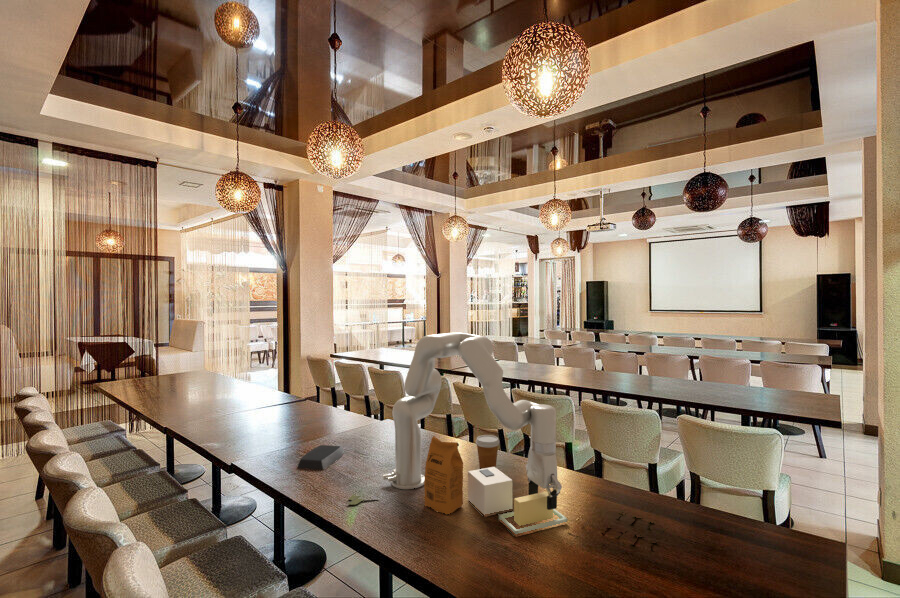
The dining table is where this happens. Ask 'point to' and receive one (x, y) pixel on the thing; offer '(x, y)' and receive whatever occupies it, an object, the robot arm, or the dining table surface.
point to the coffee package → (443, 477)
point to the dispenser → (489, 490)
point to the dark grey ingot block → (321, 457)
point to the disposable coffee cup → (487, 450)
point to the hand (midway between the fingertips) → (542, 501)
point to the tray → (533, 527)
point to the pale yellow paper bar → (531, 509)
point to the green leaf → (354, 499)
